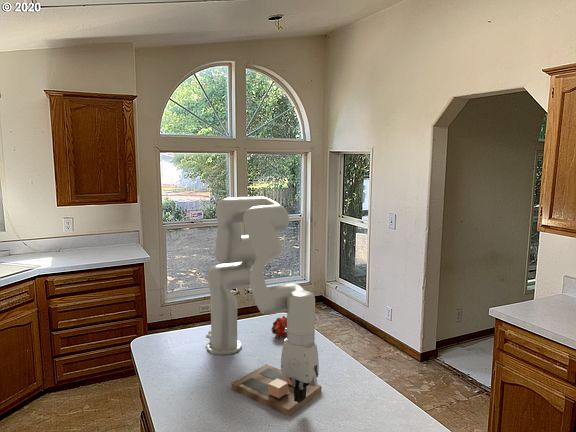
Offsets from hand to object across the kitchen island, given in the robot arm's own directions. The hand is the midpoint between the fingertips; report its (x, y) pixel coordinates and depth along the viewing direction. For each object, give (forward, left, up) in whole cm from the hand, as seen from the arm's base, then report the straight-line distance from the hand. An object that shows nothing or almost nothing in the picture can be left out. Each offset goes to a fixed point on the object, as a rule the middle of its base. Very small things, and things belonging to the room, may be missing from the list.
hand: (299, 399), depth 120 cm
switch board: (-12, +4, -3) cm, 13 cm away
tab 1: (-8, 0, -1) cm, 8 cm away
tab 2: (-8, +8, -1) cm, 11 cm away
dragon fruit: (-36, +37, -4) cm, 52 cm away
